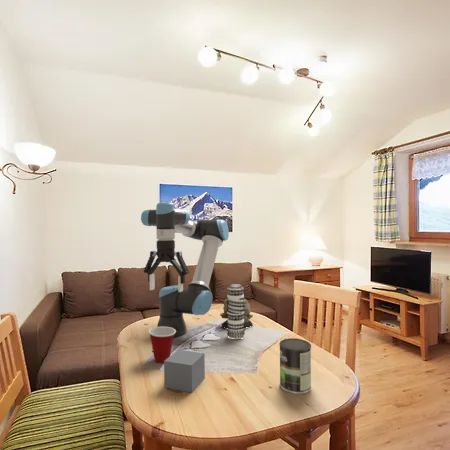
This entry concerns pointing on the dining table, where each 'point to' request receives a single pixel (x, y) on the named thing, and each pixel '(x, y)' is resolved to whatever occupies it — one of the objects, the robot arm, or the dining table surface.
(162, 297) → the robot arm
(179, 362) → the grey cube
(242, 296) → the decorative candle
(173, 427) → the dining table surface
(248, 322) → the owl figurine
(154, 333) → the plastic cup
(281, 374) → the coffee can
